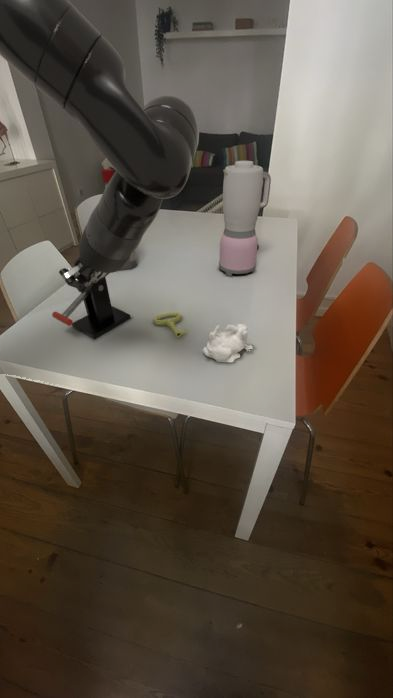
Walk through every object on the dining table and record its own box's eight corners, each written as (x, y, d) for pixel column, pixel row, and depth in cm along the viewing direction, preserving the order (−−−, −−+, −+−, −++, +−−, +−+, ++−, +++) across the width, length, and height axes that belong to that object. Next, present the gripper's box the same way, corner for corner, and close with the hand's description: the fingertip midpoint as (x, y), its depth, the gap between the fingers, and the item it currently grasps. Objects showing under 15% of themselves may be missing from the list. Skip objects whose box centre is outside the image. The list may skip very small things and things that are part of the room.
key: (178, 342, 76) (177, 334, 75) (150, 321, 84) (149, 314, 83) (201, 331, 80) (201, 324, 79) (172, 312, 88) (172, 305, 86)
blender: (228, 280, 102) (234, 167, 83) (212, 266, 111) (214, 160, 91) (270, 271, 107) (285, 162, 87) (251, 258, 116) (261, 157, 96)
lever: (70, 328, 73) (64, 322, 71) (55, 319, 76) (49, 313, 74) (107, 287, 77) (102, 280, 75) (91, 280, 80) (86, 274, 78)
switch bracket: (94, 339, 78) (81, 292, 70) (72, 327, 82) (58, 282, 74) (130, 318, 85) (123, 273, 77) (109, 308, 90) (99, 265, 82)
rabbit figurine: (252, 346, 75) (256, 310, 69) (259, 367, 69) (265, 330, 63) (201, 348, 74) (201, 313, 68) (204, 370, 68) (204, 333, 62)
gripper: (130, 205, 51) (97, 260, 65) (57, 226, 43) (38, 284, 56) (157, 244, 52) (119, 291, 65) (90, 272, 43) (63, 319, 57)
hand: (81, 288), depth 61 cm, fingers closed
